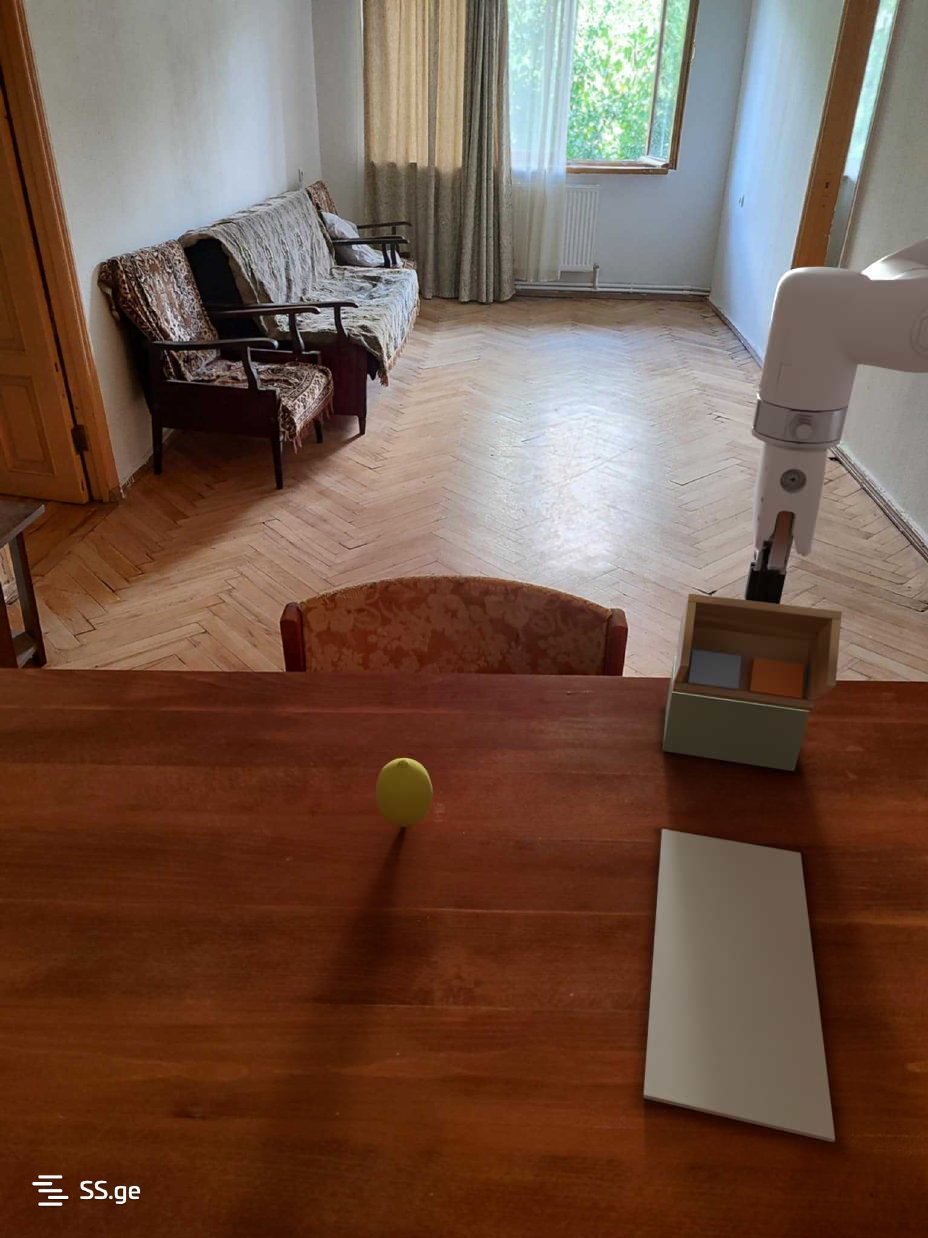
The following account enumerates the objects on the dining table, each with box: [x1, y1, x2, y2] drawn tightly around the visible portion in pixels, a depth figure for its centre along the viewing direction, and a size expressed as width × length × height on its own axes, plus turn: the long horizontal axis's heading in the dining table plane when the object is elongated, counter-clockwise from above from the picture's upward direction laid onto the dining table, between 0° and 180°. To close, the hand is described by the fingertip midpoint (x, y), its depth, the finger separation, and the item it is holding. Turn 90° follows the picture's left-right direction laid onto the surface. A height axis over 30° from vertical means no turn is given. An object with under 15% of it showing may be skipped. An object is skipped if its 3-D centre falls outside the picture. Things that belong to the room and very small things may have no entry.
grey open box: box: [662, 653, 810, 772], centre depth 98 cm, size 8×14×8 cm, turn 76°
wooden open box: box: [672, 593, 843, 712], centre depth 88 cm, size 8×14×11 cm
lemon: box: [374, 757, 433, 828], centre depth 86 cm, size 6×6×8 cm
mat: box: [643, 828, 836, 1143], centre depth 74 cm, size 28×13×1 cm, turn 166°
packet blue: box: [687, 649, 742, 690], centre depth 92 cm, size 4×5×2 cm
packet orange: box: [748, 657, 805, 699], centre depth 91 cm, size 4×5×2 cm
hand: (761, 603), depth 86 cm, fingers closed
